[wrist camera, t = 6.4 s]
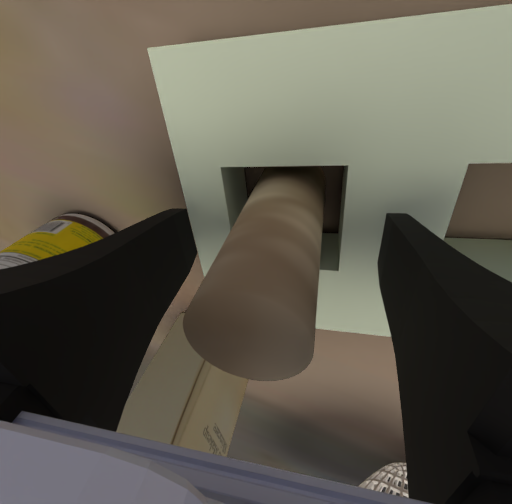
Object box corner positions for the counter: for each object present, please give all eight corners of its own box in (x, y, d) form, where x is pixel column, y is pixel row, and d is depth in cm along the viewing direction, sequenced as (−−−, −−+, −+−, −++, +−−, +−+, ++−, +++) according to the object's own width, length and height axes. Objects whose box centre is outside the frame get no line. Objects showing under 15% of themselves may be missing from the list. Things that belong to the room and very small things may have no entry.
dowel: (331, 156, 13) (325, 307, 5) (319, 217, 14) (304, 392, 7) (262, 149, 13) (174, 280, 6) (260, 209, 15) (189, 365, 8)
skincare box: (253, 365, 23) (194, 598, 13) (203, 362, 24) (117, 571, 15) (232, 309, 20) (133, 564, 10) (175, 309, 21) (40, 534, 11)
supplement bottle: (121, 291, 21) (-11, 445, 13) (49, 248, 20) (-141, 387, 12) (146, 245, 18) (-7, 412, 10) (63, 191, 17) (-185, 328, 9)
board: (745, -20, 8) (929, -48, 5) (536, 305, 14) (575, 357, 12) (186, 46, 11) (146, 48, 9) (230, 281, 18) (214, 317, 16)
